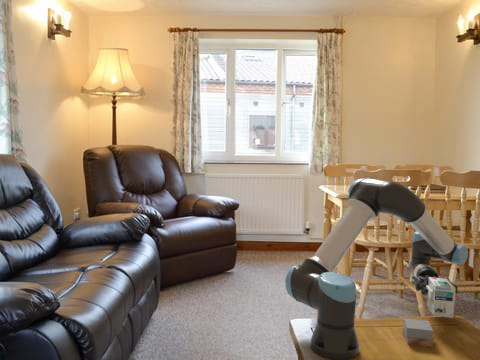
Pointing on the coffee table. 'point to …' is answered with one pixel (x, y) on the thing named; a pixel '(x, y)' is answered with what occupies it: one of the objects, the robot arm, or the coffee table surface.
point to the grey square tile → (417, 328)
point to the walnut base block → (417, 340)
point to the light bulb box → (441, 297)
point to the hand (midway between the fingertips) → (442, 295)
